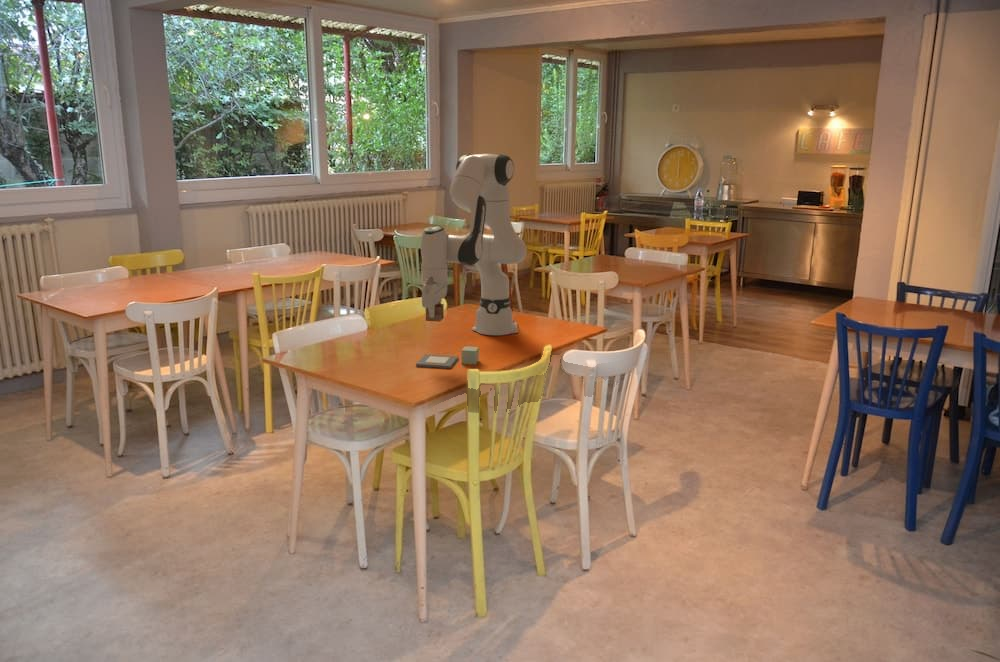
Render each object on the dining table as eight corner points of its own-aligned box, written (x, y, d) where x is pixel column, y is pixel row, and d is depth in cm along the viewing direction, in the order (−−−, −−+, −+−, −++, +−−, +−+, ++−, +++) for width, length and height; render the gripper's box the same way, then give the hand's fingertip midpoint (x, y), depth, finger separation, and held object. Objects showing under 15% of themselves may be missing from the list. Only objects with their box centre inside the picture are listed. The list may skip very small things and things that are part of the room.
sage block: (464, 360, 276) (464, 346, 275) (478, 360, 275) (478, 347, 274) (461, 364, 271) (461, 350, 270) (475, 364, 271) (475, 351, 269)
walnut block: (429, 317, 272) (429, 303, 270) (443, 318, 271) (443, 304, 269) (425, 320, 267) (425, 306, 265) (440, 321, 266) (439, 307, 265)
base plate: (425, 356, 279) (425, 353, 279) (458, 358, 277) (458, 355, 277) (416, 366, 267) (416, 363, 267) (450, 368, 265) (450, 365, 265)
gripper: (435, 281, 254) (435, 322, 258) (450, 270, 274) (450, 308, 277) (416, 280, 255) (417, 321, 259) (433, 269, 275) (433, 307, 278)
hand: (434, 314), depth 268 cm, fingers closed on walnut block, 5 cm apart
